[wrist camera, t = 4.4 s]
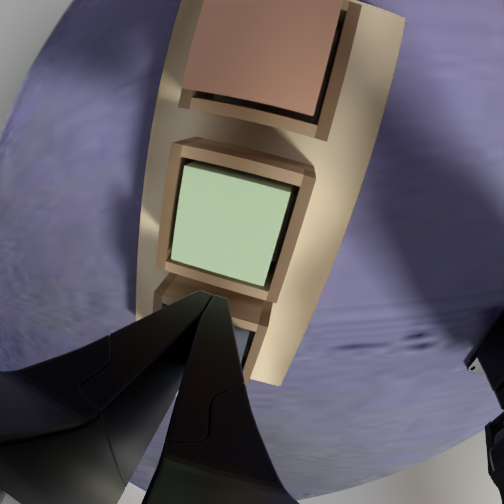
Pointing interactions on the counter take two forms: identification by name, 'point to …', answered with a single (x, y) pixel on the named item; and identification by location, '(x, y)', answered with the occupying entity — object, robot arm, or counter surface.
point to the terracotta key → (263, 50)
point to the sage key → (228, 220)
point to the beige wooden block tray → (271, 166)
